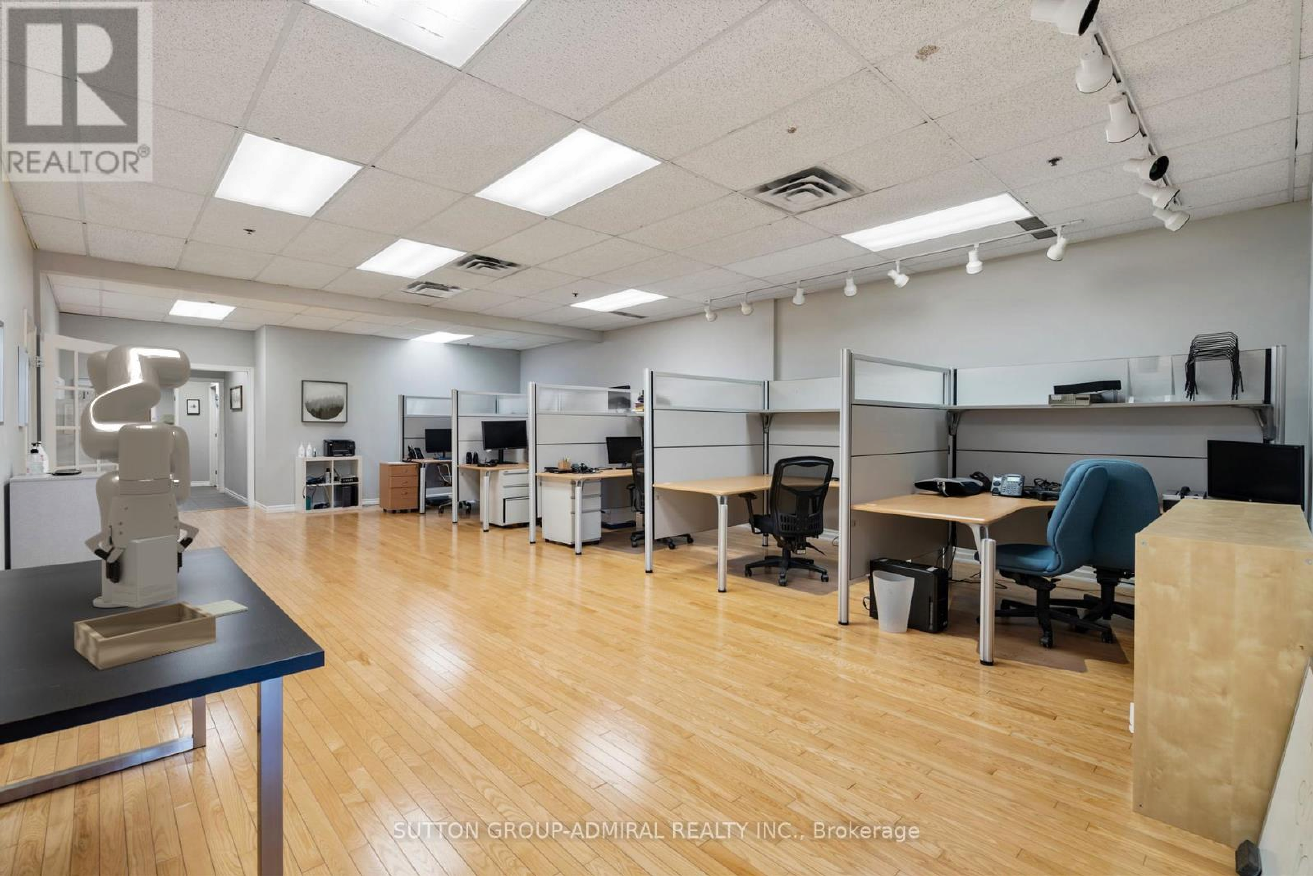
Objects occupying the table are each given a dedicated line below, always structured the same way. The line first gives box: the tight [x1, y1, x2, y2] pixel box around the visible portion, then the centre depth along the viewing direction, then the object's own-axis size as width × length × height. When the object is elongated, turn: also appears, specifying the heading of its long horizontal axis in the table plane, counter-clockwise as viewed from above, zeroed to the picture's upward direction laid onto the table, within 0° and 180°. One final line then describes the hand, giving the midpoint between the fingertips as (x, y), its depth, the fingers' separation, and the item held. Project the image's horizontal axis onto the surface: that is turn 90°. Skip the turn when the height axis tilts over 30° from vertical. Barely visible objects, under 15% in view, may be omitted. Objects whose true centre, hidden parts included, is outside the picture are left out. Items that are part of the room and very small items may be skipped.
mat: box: [194, 599, 249, 618], centre depth 135 cm, size 11×11×1 cm
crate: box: [73, 600, 217, 671], centre depth 114 cm, size 17×17×5 cm
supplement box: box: [112, 535, 179, 609], centre depth 115 cm, size 7×7×13 cm
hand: (145, 576), depth 115 cm, fingers closed on supplement box, 8 cm apart
